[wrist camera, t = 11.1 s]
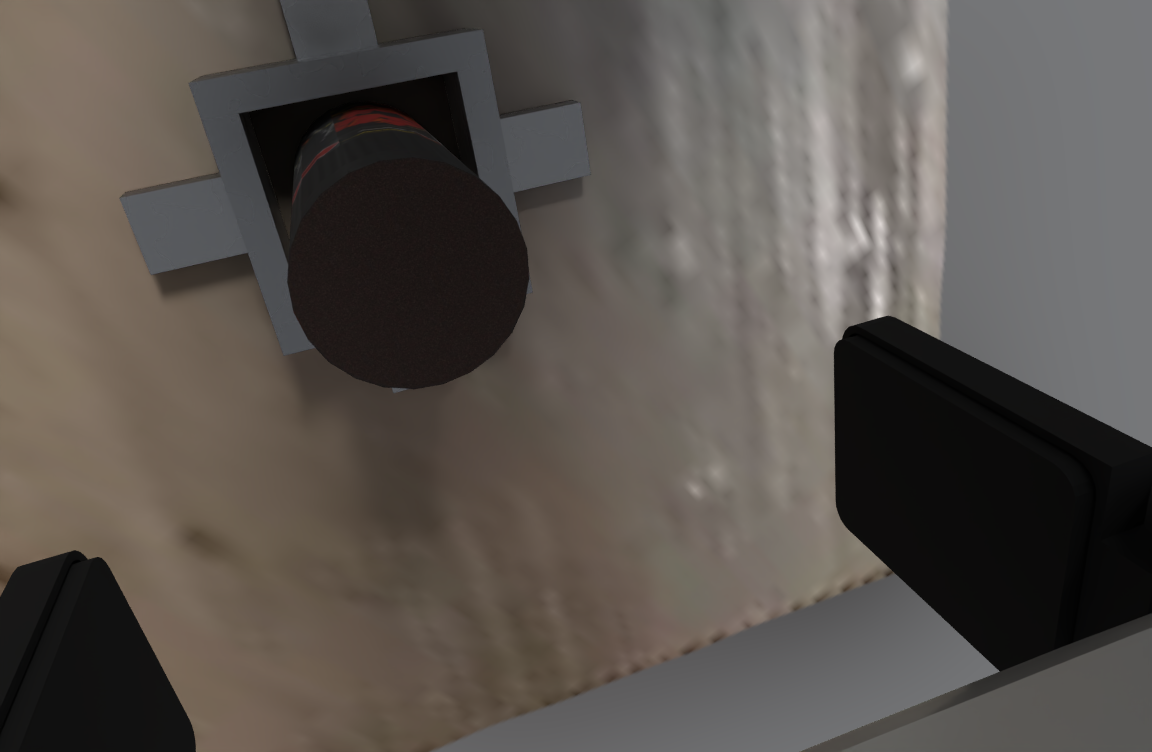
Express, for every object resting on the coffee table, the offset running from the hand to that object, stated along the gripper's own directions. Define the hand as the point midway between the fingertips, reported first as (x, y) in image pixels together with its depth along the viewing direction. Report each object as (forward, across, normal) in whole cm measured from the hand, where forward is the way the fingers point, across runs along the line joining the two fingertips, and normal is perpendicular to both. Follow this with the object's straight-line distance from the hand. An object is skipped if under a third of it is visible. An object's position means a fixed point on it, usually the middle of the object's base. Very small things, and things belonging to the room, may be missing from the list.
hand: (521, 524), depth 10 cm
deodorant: (+26, 0, 0) cm, 26 cm away
